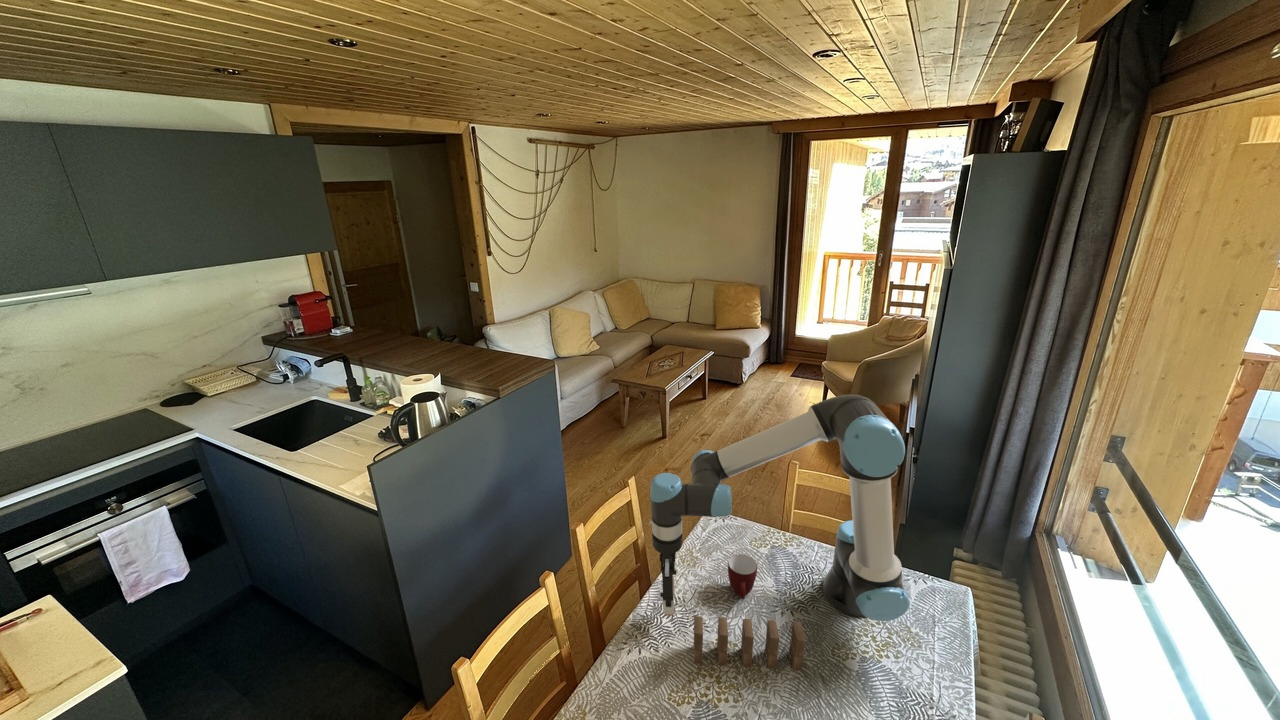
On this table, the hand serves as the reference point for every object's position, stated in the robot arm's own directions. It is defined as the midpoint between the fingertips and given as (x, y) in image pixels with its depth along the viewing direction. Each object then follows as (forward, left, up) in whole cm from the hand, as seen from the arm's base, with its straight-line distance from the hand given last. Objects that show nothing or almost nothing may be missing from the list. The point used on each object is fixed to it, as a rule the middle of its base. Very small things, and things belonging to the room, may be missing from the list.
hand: (669, 604), depth 131 cm
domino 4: (-19, +9, -7) cm, 22 cm away
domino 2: (-7, +9, -7) cm, 13 cm away
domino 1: (0, 0, -1) cm, 1 cm away
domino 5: (-25, +9, -7) cm, 28 cm away
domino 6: (-31, +9, -7) cm, 33 cm away
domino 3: (-13, +9, -7) cm, 17 cm away
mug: (-20, -11, -7) cm, 24 cm away
